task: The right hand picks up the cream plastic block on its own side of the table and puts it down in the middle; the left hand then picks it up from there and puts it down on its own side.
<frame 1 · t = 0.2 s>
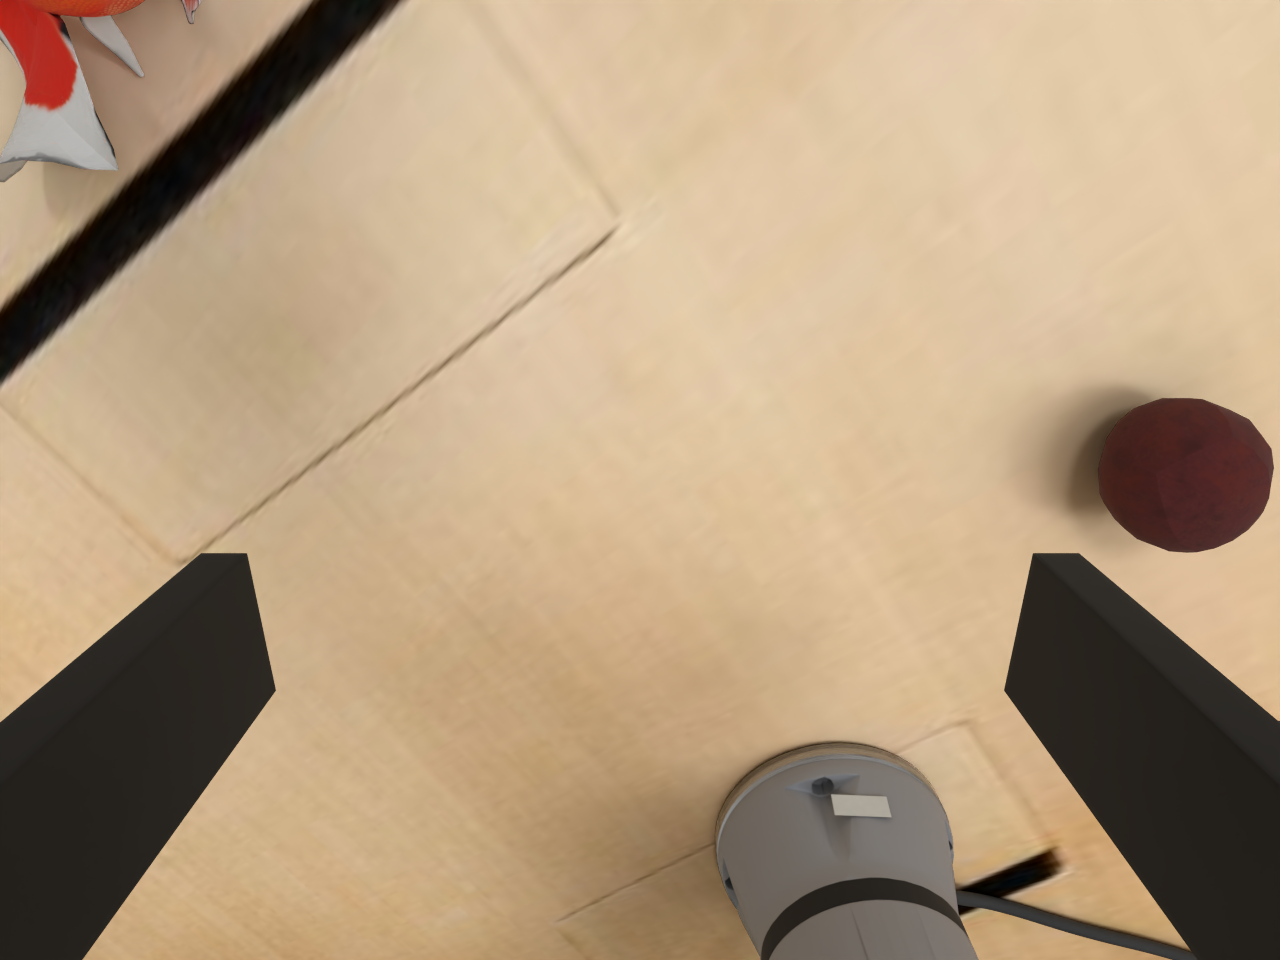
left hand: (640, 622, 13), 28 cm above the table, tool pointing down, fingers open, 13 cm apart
fish: (125, 42, 34), on the table
dark red ball: (1136, 448, 41), on the table
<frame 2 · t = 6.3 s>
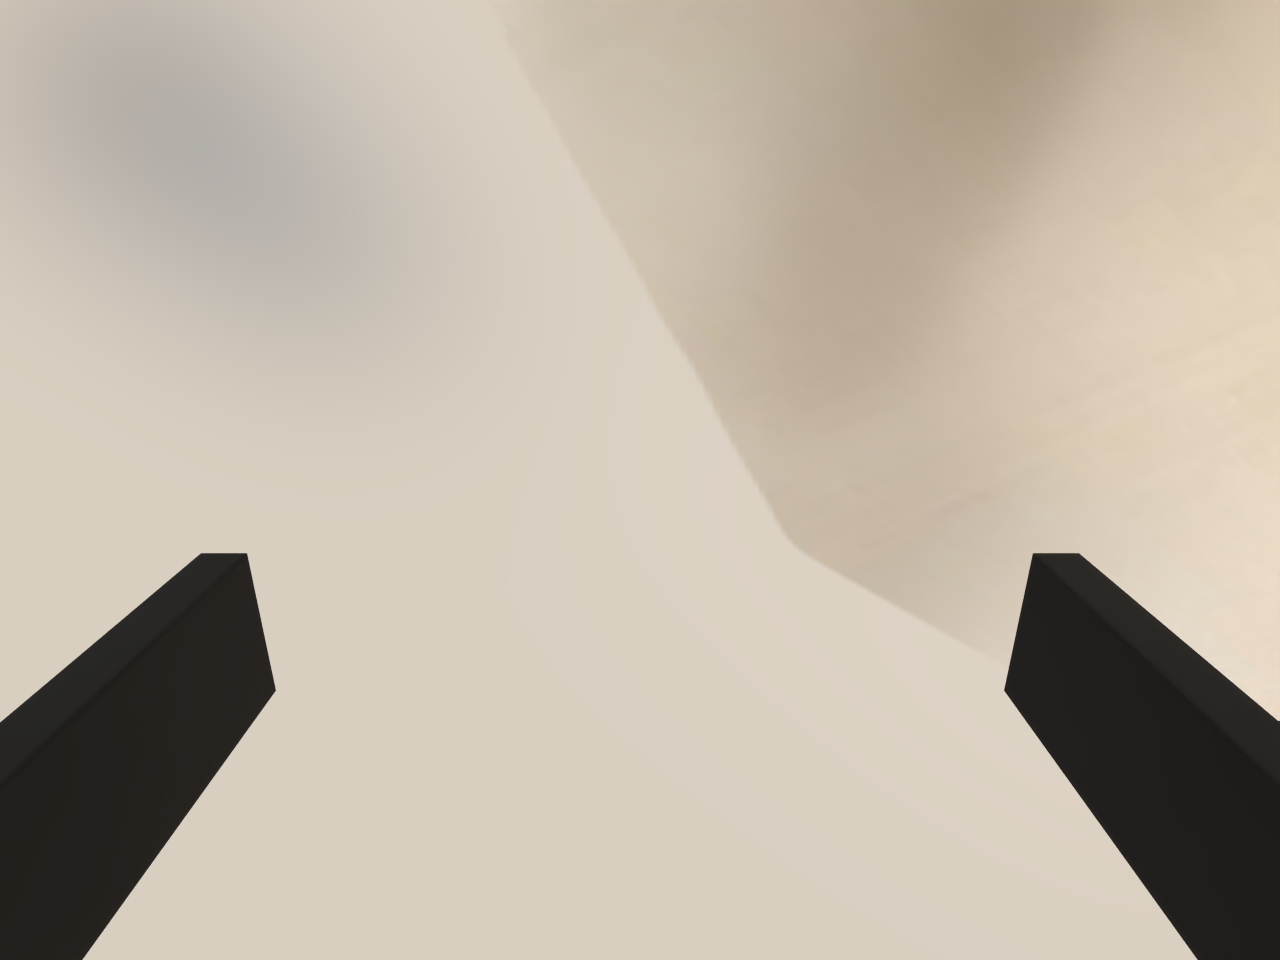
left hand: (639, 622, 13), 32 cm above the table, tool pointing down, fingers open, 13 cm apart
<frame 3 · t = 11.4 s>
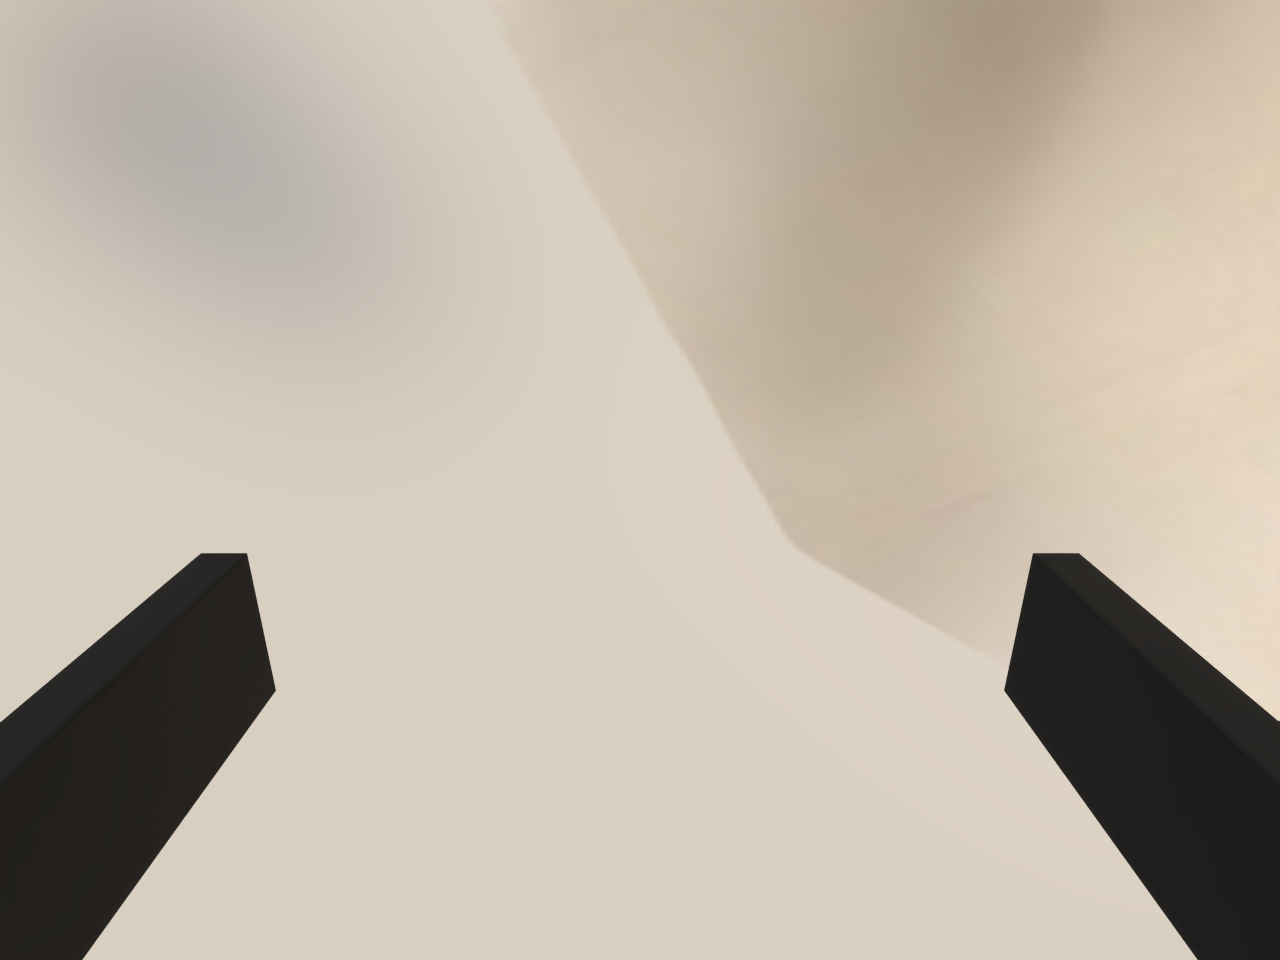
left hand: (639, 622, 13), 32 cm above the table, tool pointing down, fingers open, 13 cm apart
when the right hand's fingers open (4 cm above the table, at t = 16.6 s): block drops 1 cm, on the table.
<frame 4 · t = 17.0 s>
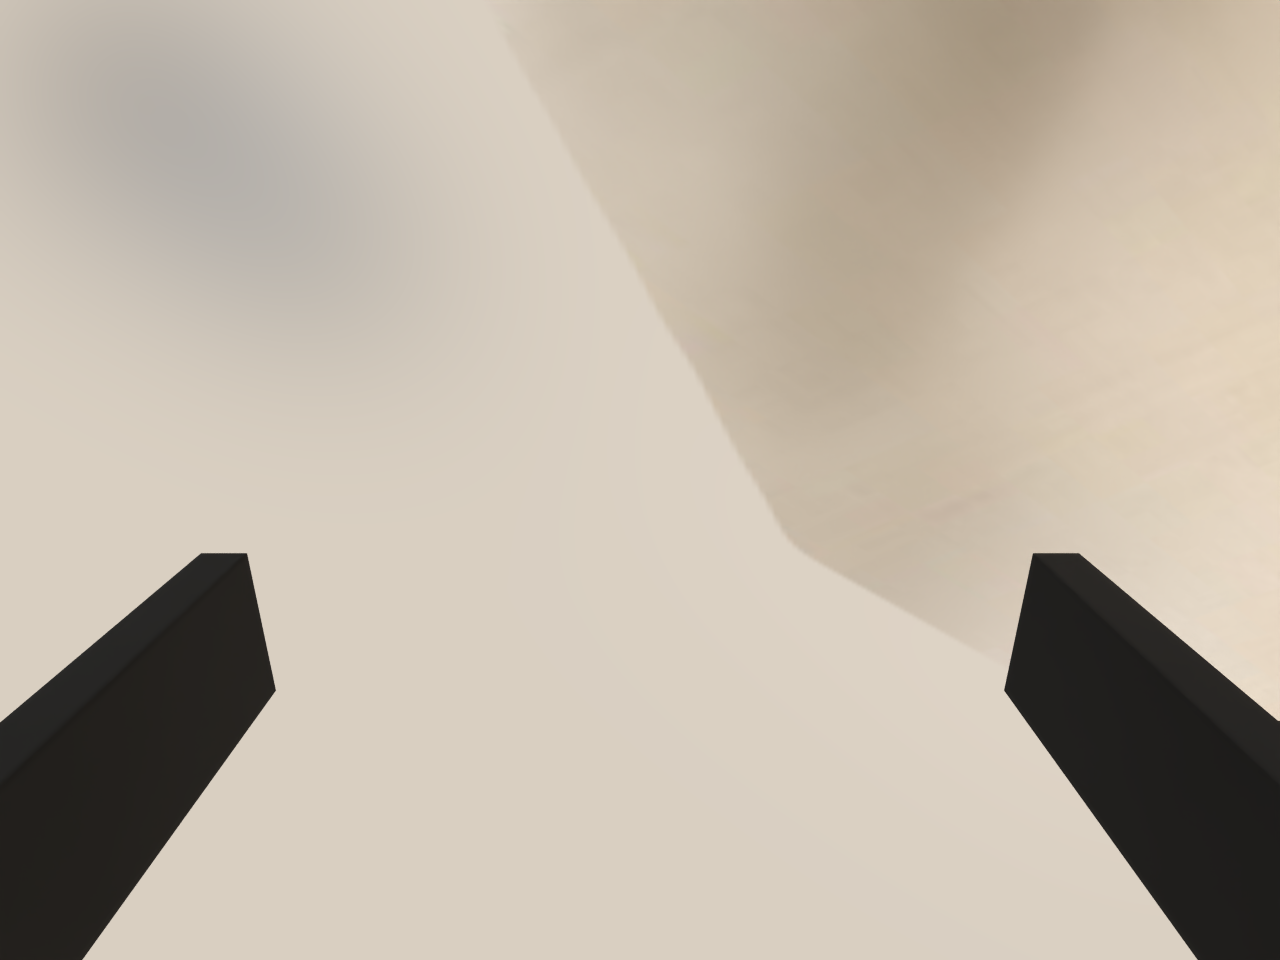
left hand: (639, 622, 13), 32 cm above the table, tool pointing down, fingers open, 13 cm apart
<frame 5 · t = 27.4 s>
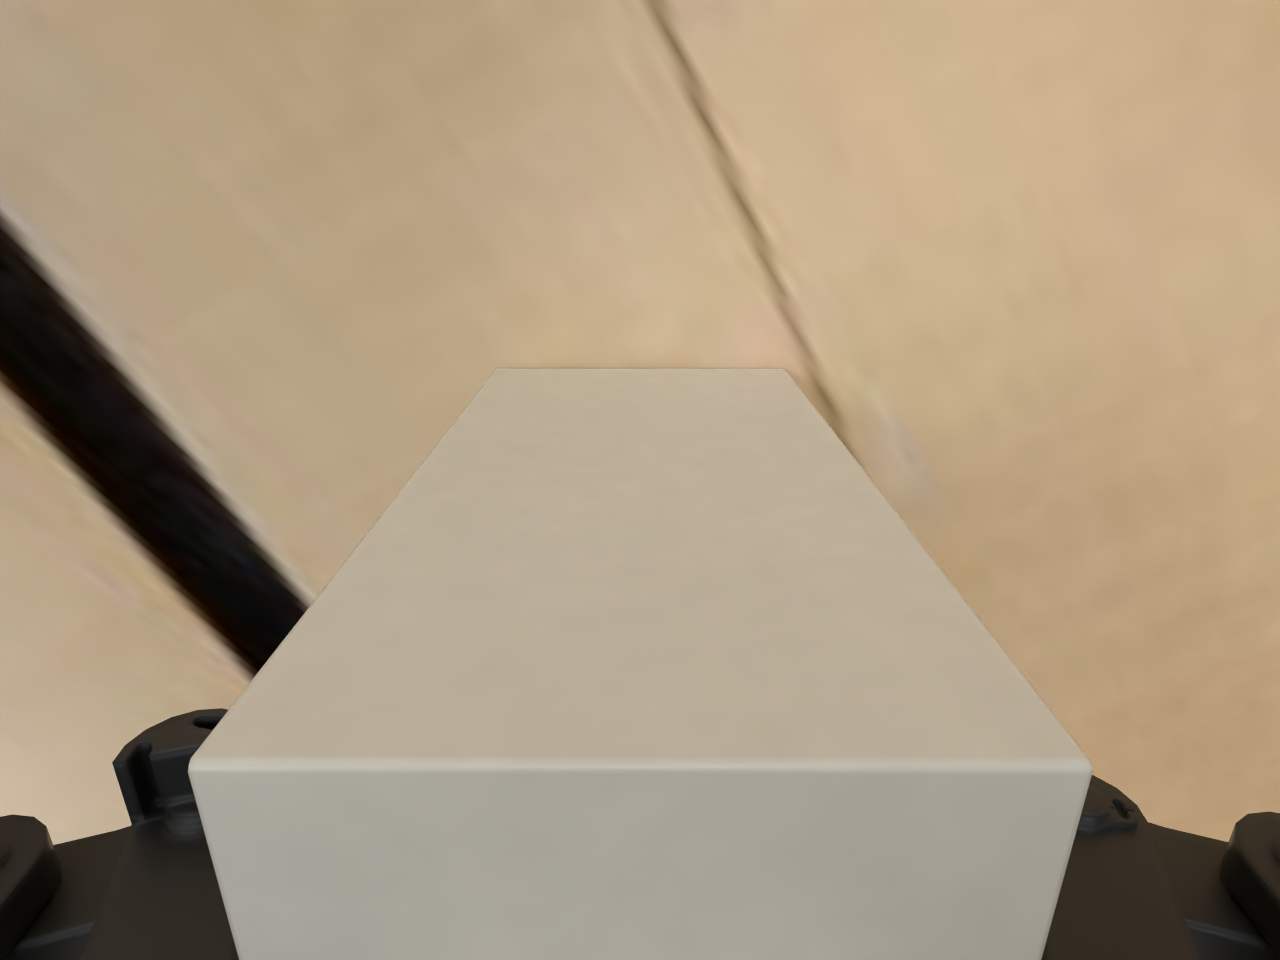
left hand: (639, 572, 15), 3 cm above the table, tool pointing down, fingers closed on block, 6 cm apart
block: (640, 517, 17), on the table, touching left hand
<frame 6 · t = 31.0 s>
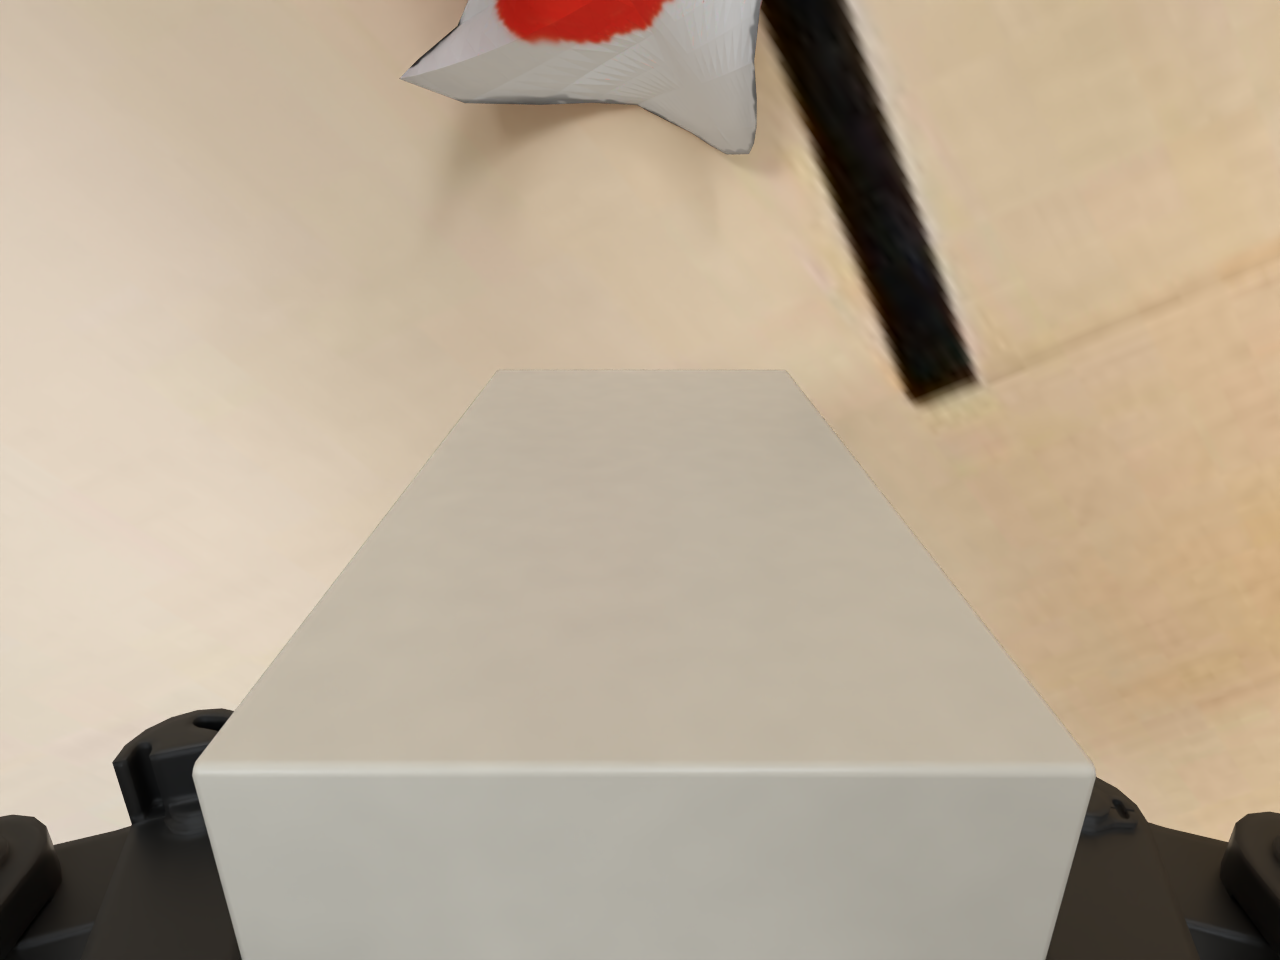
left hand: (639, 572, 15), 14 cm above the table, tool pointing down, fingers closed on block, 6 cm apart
block: (641, 518, 17), point 12 cm above the table, touching left hand
when the left hand's fingers open (4 cm above the table, at t = 35.0 s): block drops 1 cm, on the table.
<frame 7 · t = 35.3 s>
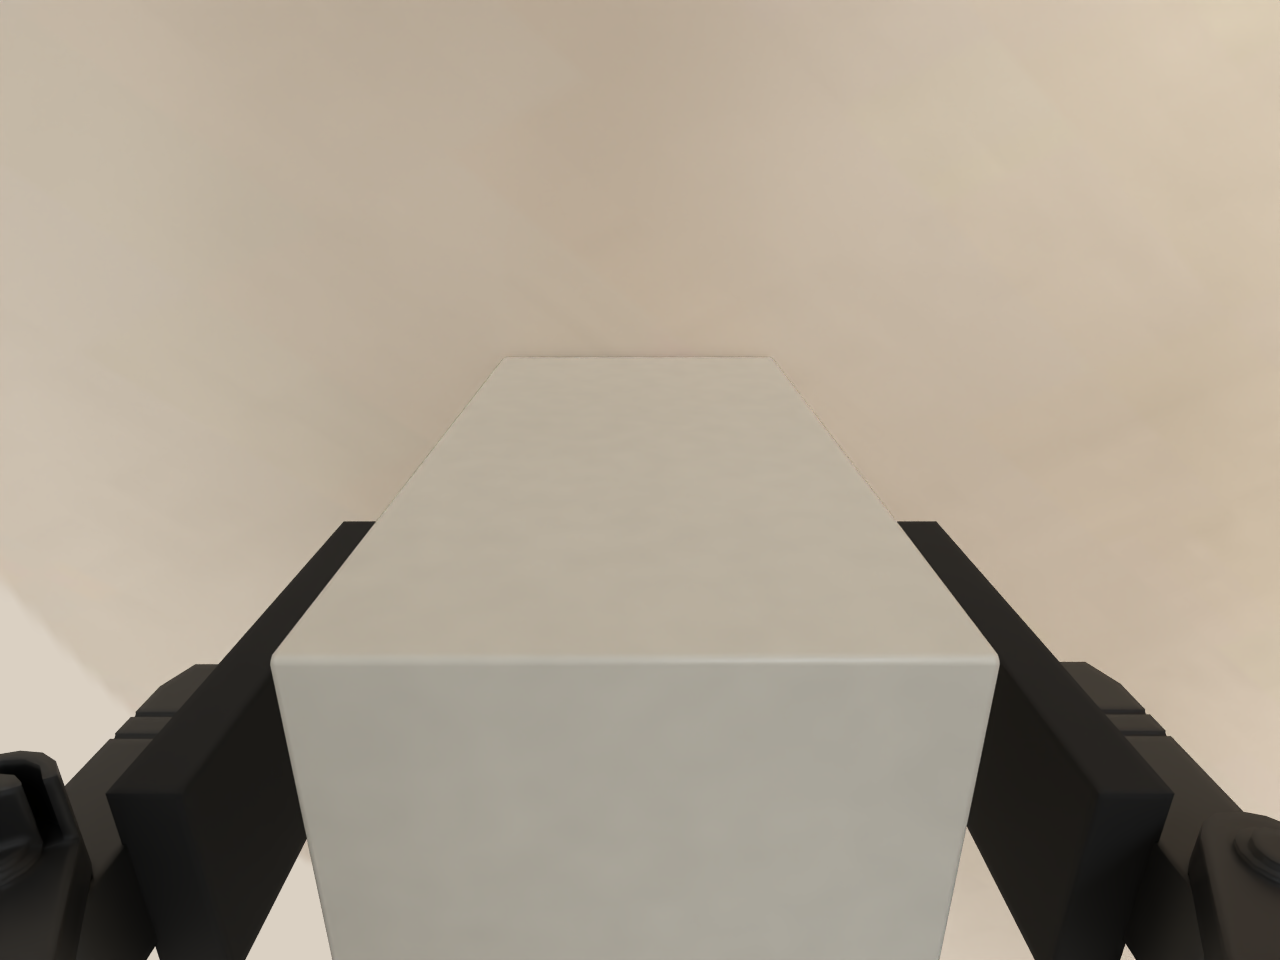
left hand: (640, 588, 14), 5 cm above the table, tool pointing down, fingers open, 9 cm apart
block: (638, 497, 18), on the table
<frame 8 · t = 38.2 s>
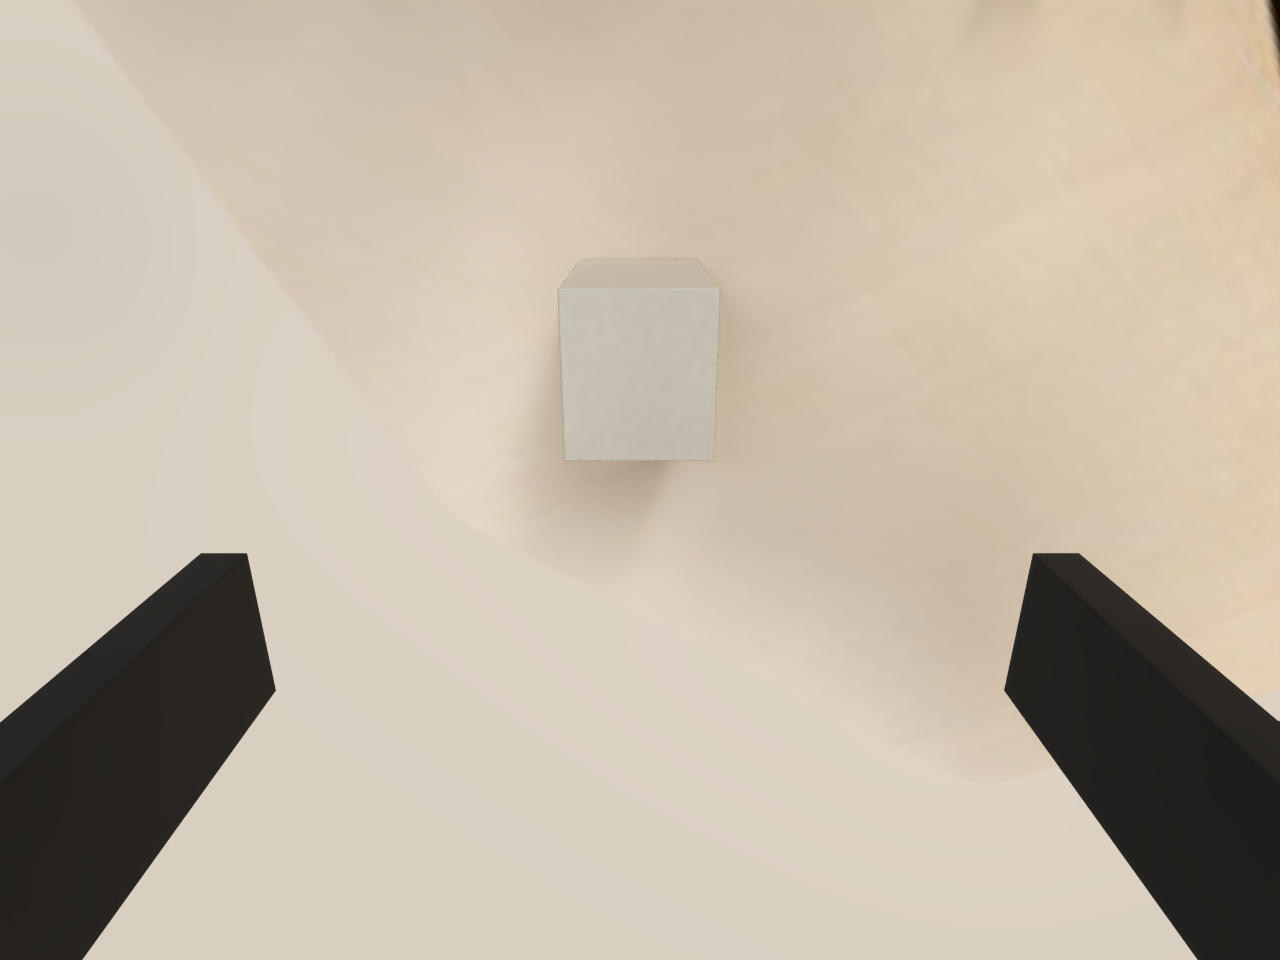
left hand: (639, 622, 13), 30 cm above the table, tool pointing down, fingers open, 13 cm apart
block: (639, 326, 41), on the table
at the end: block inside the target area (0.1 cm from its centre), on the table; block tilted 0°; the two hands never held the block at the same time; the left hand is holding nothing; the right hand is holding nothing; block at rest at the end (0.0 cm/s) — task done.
